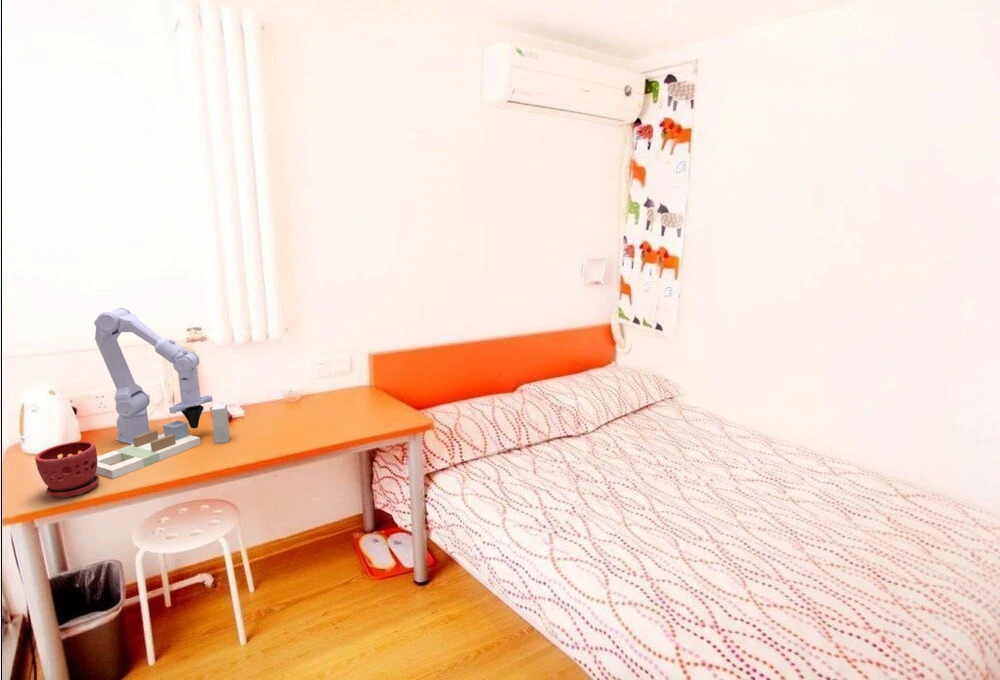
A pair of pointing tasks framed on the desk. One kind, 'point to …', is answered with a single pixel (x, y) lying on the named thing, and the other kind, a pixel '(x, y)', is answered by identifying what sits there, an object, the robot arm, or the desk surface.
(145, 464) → the deck
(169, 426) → the block
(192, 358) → the robot arm
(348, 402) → the desk surface
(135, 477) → the desk surface
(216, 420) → the skincare box
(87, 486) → the plant pot
